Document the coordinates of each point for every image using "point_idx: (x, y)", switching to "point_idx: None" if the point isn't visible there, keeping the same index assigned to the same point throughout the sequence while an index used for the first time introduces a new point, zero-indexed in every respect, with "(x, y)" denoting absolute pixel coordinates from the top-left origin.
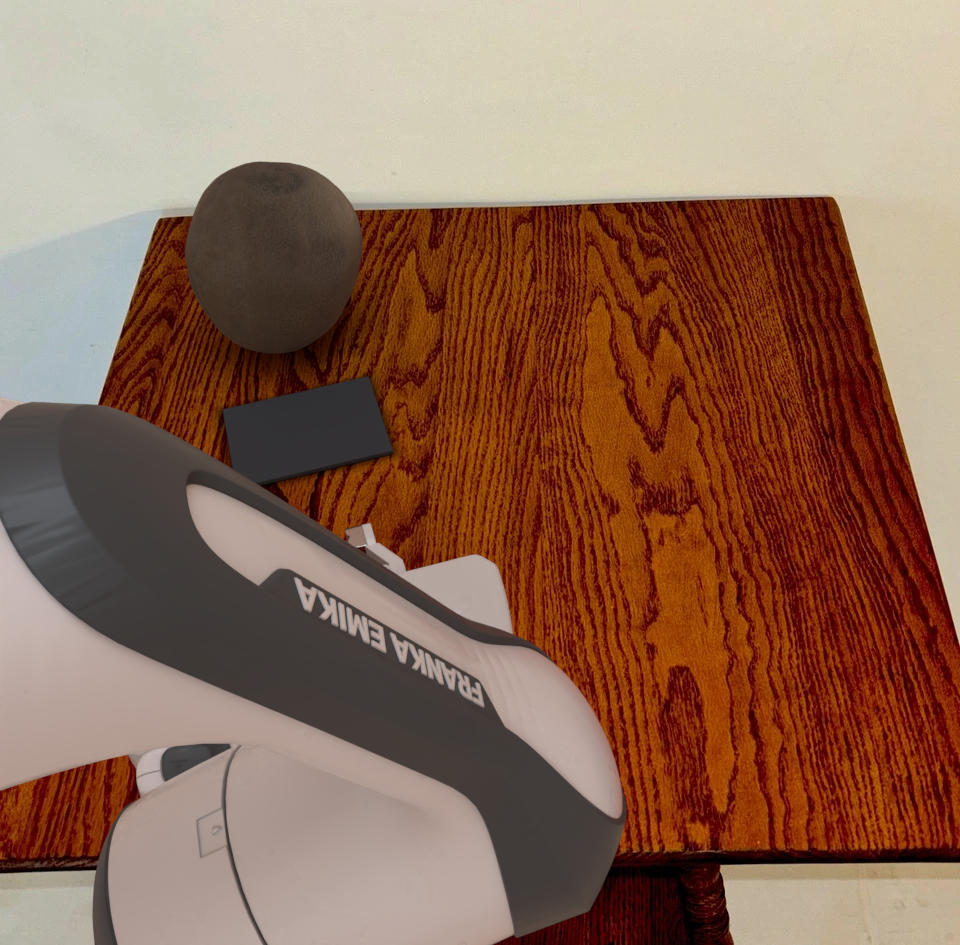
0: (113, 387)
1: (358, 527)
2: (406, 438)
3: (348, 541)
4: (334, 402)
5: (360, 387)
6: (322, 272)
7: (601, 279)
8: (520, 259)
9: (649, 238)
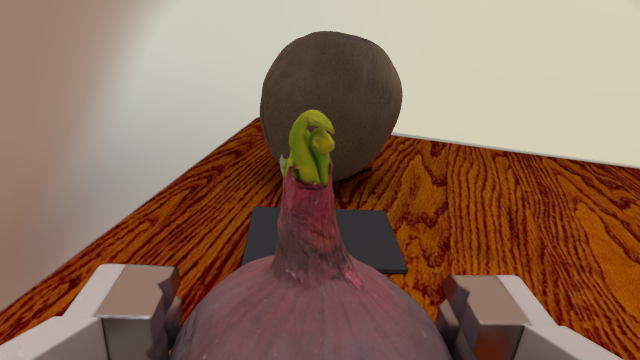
0: (175, 179)
1: (488, 276)
2: (420, 264)
3: (468, 302)
4: (352, 221)
5: (377, 216)
6: (370, 107)
7: (577, 193)
8: (503, 172)
9: (605, 179)
